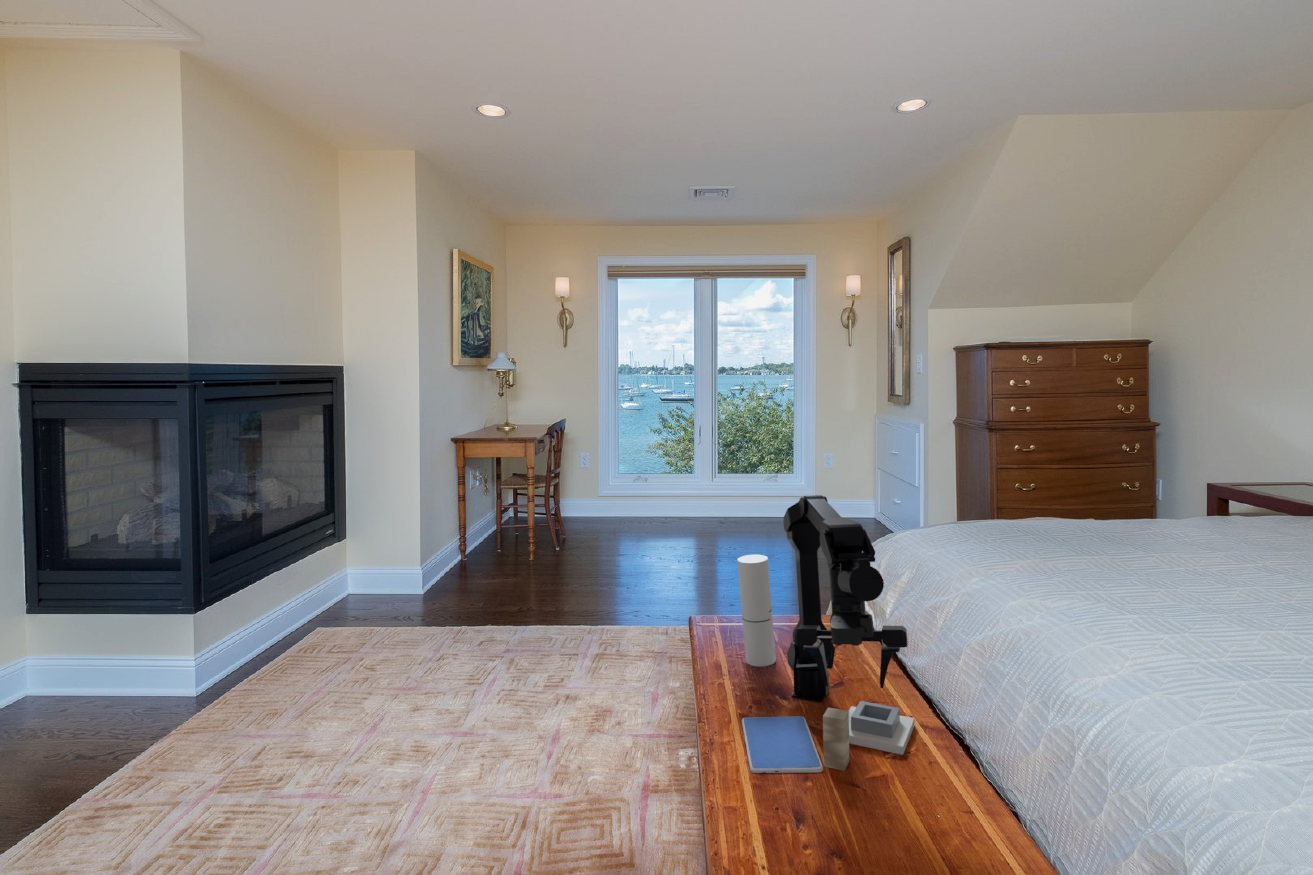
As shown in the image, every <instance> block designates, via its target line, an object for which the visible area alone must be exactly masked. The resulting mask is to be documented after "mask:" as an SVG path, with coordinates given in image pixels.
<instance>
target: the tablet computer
mask: <svg viewBox="0 0 1313 875" xmlns="http://www.w3.org/2000/svg"><path fill="white" fill-rule="evenodd" d="M741 725H742V730H743V731H742V732H743V737H744V741H745V747H746V753H747V759H748V765H749V770H750V772H751V773H753V774H763V773H764V774H767V773H768V774H772V773H773V774H774V773H775V774H779V773H780V774H782V773H784V774H787V773H789V774H790V773H793V774H794V773H822V772H823V771H824V765H823V764H822V761H821V758H820V756H819V753H818V750H817V747H816V744H815V742H814V739H813V737H812V734H811V731H810V728H809V725H808V723H807V720H806V718H805V717H804V716H798V715H797V716H795V715H794V716H758V717H757V716H755V717H752V716H749V717H743V718H742V719H741Z"/></svg>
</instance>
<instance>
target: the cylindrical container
mask: <svg viewBox="0 0 1313 875" xmlns="http://www.w3.org/2000/svg"><path fill="white" fill-rule="evenodd" d="M769 568H770V566H769V557H768V556H766V555H763V554H746V555H742V556H739V557H738V558H737V569H738V570H737V571H738V580H739V583H738V584H739V593H740V595H739V596H740V606H741V617H742V630H743V643H744V656H745V662H746V664H747V665H749V664H750V666H752V667H758V668H759V667H760V668H762V667H768V666H770V665H771V666H772V665H773V664H774V663H776V660H777V659H776V657H777V656H776V647H775V646H776V645H775V643H776V642H775V633H774V632H775V631H774V620H773V619H774V617H773V606H772V605H773V604H772V595H771V582H770V569H769Z"/></svg>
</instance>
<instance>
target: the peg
mask: <svg viewBox="0 0 1313 875" xmlns="http://www.w3.org/2000/svg"><path fill="white" fill-rule="evenodd" d="M822 728H823V729H822V734H823V735H822V736H823V737H822V739H823V740H822V741H823V744H822V746H823V767H826V768H830V769H835V770H838V771H842V772H843V771H844V772H845V771H846V768H847V766H848V765H849V763H850V743H849V710H843V709H839V708H832V707H827V709H826V710H825V712H824V714H823V715H822Z"/></svg>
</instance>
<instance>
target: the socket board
mask: <svg viewBox="0 0 1313 875" xmlns="http://www.w3.org/2000/svg"><path fill="white" fill-rule="evenodd" d="M900 709H901V708H900V707H895V706H892V705H891V706H890V705H884V704H881V703H880V704H879V703H874V702H868V701H863V700H860V701H859V703H858V704H857V706H853V705H852V706H850V708H849V709H848V711H849V745H850V744H851V745H855V746H859V747H864V748H865V747H866V748H869V749H874V750H878V751H883V752H886V753H887V752H888V753H893V754H896V755H902V756H903V755H904V753H905V752H906V748H907V746H908V743H909V740H910V738H911V736H912V733H913V731H914V729H915V728H914V727H915V720H916V719H915V717H912V716H911V717H909V716H906V715H901V713H900V712H901V710H900Z"/></svg>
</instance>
